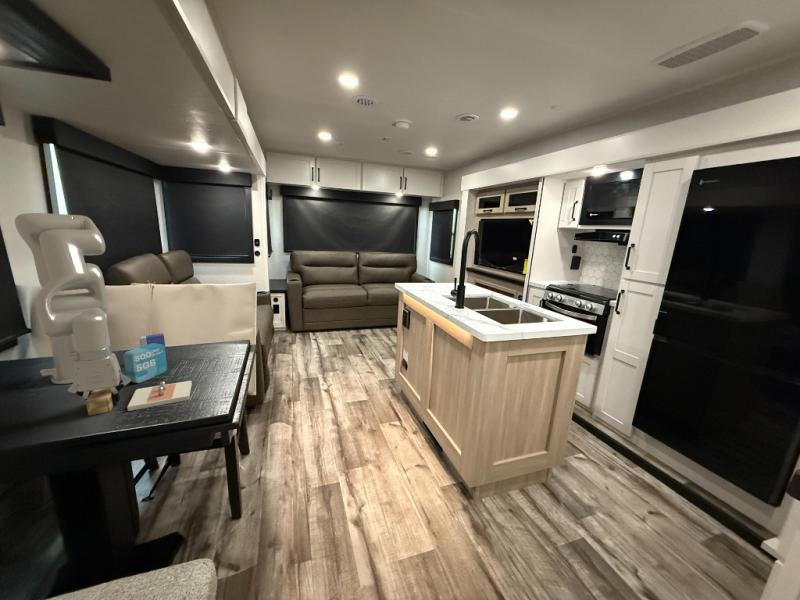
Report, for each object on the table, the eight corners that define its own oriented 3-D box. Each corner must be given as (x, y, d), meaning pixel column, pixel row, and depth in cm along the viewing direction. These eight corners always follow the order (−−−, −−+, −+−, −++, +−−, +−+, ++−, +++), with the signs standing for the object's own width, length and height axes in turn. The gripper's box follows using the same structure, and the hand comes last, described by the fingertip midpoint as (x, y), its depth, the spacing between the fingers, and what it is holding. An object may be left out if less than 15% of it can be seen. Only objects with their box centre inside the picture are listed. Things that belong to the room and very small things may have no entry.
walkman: (166, 358, 134) (163, 332, 132) (166, 360, 132) (163, 334, 130) (143, 362, 129) (139, 335, 127) (143, 364, 127) (139, 337, 125)
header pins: (158, 396, 103) (157, 388, 102) (160, 389, 107) (159, 381, 107) (163, 395, 103) (162, 387, 103) (165, 388, 108) (164, 380, 107)
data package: (136, 384, 112) (131, 354, 109) (126, 382, 113) (122, 352, 110) (167, 371, 123) (164, 343, 121) (159, 369, 124) (155, 341, 122)
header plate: (128, 411, 97) (127, 406, 96) (137, 393, 107) (136, 389, 106) (188, 399, 105) (188, 395, 104) (191, 384, 115) (191, 380, 114)
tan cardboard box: (88, 415, 93) (85, 401, 92) (98, 400, 101) (96, 387, 100) (110, 411, 96) (107, 397, 95) (118, 397, 103) (116, 384, 102)
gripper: (49, 362, 87) (61, 418, 91) (127, 353, 95) (135, 405, 99) (61, 352, 93) (72, 405, 97) (133, 345, 102) (140, 394, 106)
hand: (104, 404), depth 98 cm, fingers closed on tan cardboard box, 5 cm apart
